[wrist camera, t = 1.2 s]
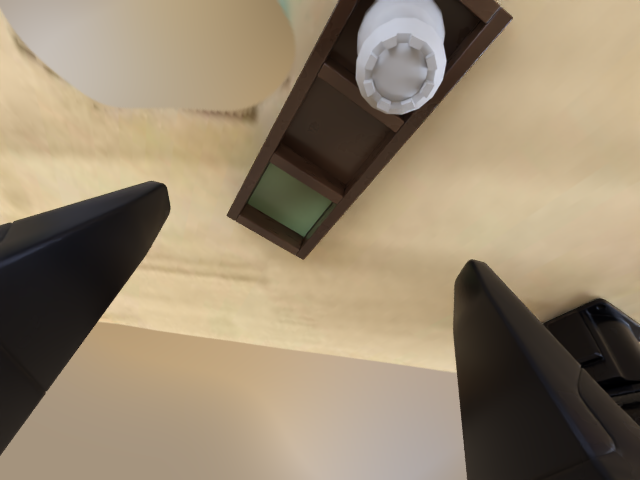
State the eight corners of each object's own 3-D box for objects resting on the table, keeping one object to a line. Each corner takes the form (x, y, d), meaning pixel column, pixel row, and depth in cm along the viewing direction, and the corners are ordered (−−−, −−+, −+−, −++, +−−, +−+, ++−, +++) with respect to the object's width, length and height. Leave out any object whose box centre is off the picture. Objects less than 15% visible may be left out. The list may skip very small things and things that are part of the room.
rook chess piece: (443, 75, 18) (465, 129, 12) (363, 90, 19) (347, 145, 13) (444, -27, 15) (473, -22, 9) (351, -1, 17) (324, 17, 11)
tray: (502, 13, 16) (514, 18, 15) (308, 244, 28) (303, 260, 27) (389, -90, 15) (388, -97, 13) (236, 201, 27) (226, 216, 25)
